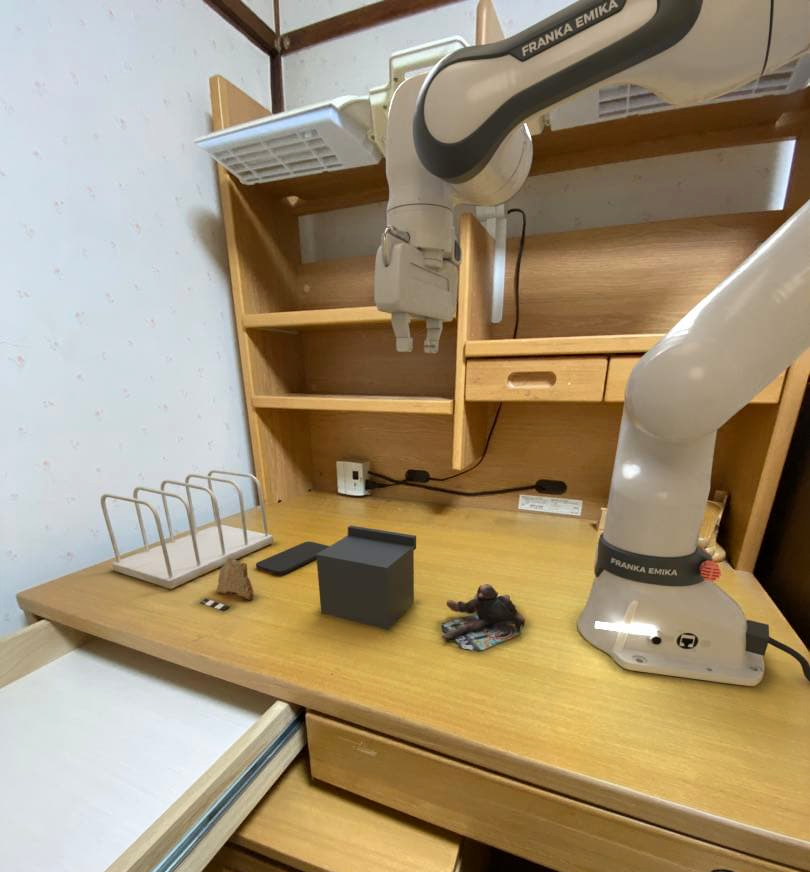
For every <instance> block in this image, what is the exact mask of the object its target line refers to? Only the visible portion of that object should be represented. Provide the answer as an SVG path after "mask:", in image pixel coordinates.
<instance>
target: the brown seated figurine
mask: <svg viewBox="0 0 810 872" xmlns="http://www.w3.org/2000/svg"><path fill="white" fill-rule="evenodd" d="M446 606H447V607H448V608H449V609H450V611H452V612H457V613H458V612H459V613H461V614H466V615H465V616H460V617H457V618H455V619H452V620H450V621H449V622H448V621H445V622H442V624H441V631H442V632H444V633H443V634H441V638H442V639H443V640H446V641H448V642H452V643H455V644H457V647H460V649H462V650H470V651H477V652H479V651H484V650H487V649H488V648H491V647H493V646H497V645H498V644H501V643H503V642H505V641H508V640H510V639H512V638H514V637H516V636H519V635H520V634H521V630H522V628H523V626H524V625H525V623H526V619H525V617H524V616H523V614H521V613H520V612H519V611H518V609H516V605H515V604H514V603H513V602H512V600H511V596H510V594H503V595H499V592H498V591H496V590H495V588H494V587H493V586H492V585H491V584H489V583H488V584H487V583H485V584H483V585H479V587H478V589H477V591H476V594H475V595H474V597H473V599H470V600H469V601H467V602H464V601H461V600H459V601H455V600H453V599H448V600H447V601H446ZM475 612H476V614H474V613H475ZM453 626H454V628H452V627H453Z"/></svg>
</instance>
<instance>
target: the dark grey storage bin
mask: <svg viewBox="0 0 810 872" xmlns="http://www.w3.org/2000/svg"><path fill="white" fill-rule="evenodd" d="M347 533H348V536H347V535H346V536H344V537H343V538H341V539H340V540H338V541H336V542H334V543H333V544H331V545H328V546H329V547H328V548H326V549H324V550H323V551H321V552H319V553H318V554H316V559H315V560H316V567H317V579H318V592H319V603H320V613H321V614H325V615H328V616H333V617H336V618H340V619H345V620H347V621H348V620H349V621H352V622H356V623H360V624H365V625H368V626H373V627H375V628H381V629H384V630H387V631H388V630H390V629H391V628H392V627H393V626H394V625H395V624H396V623H397V621H398V620H399V619H400V618H401V617H402V616H403V615H404V614H405V613H406V612H407V610H409V609H410V608H411V607H412V605H414V604H415V603H414V602H415V563H414V561H415V559H414V558H415V555H414V554H415V551H416V549H417V535H415V534H408V533H401V532H395V531H390V530H381V529H377V528H369V527H363V526H358V527H357V525H349V526H348V527H347Z"/></svg>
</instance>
